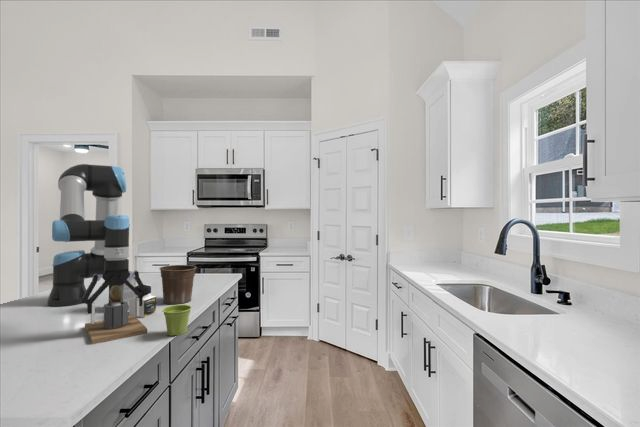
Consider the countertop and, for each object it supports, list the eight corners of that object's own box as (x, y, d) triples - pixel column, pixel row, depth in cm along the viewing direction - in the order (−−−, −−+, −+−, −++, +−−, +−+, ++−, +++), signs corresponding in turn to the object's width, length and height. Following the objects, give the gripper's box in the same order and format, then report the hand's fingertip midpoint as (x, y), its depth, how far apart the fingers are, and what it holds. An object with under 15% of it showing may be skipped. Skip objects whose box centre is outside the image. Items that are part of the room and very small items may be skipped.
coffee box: (107, 309, 145) (108, 272, 145) (121, 306, 151) (122, 269, 151) (122, 312, 142) (123, 273, 142) (136, 308, 148) (136, 271, 148)
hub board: (84, 327, 122) (85, 301, 122) (134, 319, 133) (134, 294, 133) (91, 344, 107) (92, 314, 107) (147, 333, 117) (147, 305, 117)
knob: (105, 328, 115) (105, 307, 115) (102, 322, 121) (102, 303, 121) (128, 324, 119) (129, 304, 119) (124, 319, 125) (124, 300, 125)
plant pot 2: (173, 340, 111) (173, 313, 111) (156, 334, 116) (156, 309, 116) (197, 332, 119) (197, 307, 119) (180, 327, 124) (180, 303, 124)
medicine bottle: (144, 317, 135) (144, 287, 135) (128, 316, 136) (129, 286, 136) (156, 312, 142) (156, 284, 142) (141, 311, 143) (141, 283, 143)
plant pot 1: (203, 300, 163) (203, 266, 163) (173, 307, 149) (173, 271, 149) (182, 295, 172) (182, 263, 172) (151, 302, 158) (152, 267, 158)
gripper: (74, 262, 109) (72, 329, 109) (157, 257, 125) (156, 315, 125) (72, 260, 115) (71, 323, 115) (152, 255, 131) (151, 310, 131)
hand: (115, 319), depth 120 cm, fingers open, 13 cm apart
